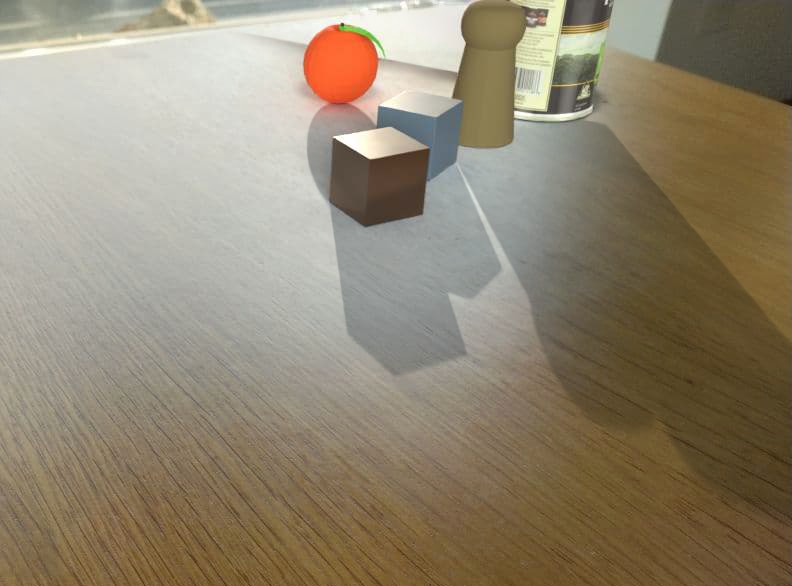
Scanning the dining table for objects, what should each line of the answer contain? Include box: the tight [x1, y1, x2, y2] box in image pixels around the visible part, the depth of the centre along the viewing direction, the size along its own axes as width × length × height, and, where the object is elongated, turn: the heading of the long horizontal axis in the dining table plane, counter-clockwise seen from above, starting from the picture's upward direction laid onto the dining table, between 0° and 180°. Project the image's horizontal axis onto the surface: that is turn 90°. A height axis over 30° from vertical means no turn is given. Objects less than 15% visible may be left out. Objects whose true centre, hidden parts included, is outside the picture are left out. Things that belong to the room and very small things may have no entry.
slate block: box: [375, 89, 464, 181], centre depth 78 cm, size 5×5×5 cm
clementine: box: [302, 22, 387, 105], centre depth 90 cm, size 8×7×7 cm
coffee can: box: [506, 0, 615, 123], centre depth 88 cm, size 10×10×14 cm
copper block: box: [329, 127, 430, 228], centre depth 71 cm, size 5×5×5 cm
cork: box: [451, 0, 527, 149], centre depth 82 cm, size 6×6×11 cm
